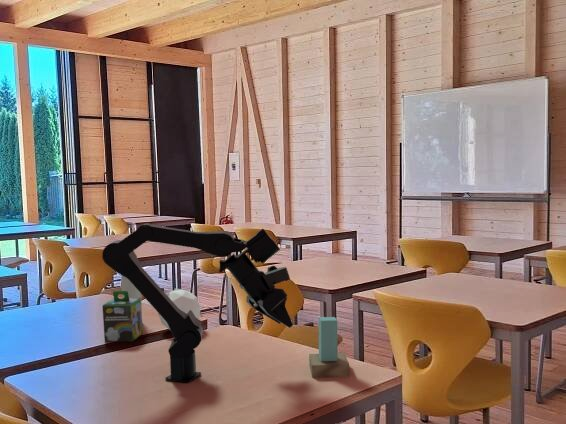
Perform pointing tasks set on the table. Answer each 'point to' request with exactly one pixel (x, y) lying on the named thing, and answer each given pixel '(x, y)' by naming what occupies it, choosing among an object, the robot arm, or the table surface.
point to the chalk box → (122, 318)
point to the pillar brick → (328, 338)
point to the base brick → (329, 366)
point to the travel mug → (130, 289)
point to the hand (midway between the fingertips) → (286, 324)
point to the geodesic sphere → (183, 303)
